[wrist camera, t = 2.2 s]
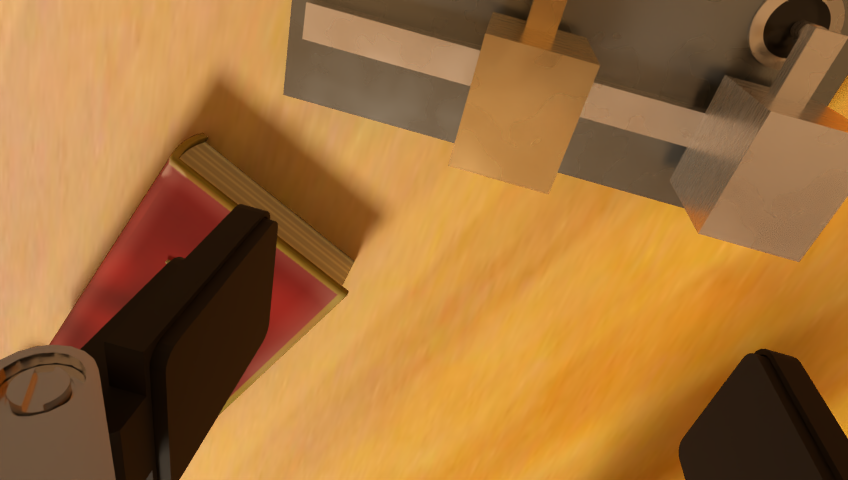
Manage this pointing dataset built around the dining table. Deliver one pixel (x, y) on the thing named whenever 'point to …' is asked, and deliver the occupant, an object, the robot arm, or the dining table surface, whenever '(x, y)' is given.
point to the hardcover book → (186, 228)
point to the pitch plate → (626, 97)
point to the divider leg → (525, 98)
